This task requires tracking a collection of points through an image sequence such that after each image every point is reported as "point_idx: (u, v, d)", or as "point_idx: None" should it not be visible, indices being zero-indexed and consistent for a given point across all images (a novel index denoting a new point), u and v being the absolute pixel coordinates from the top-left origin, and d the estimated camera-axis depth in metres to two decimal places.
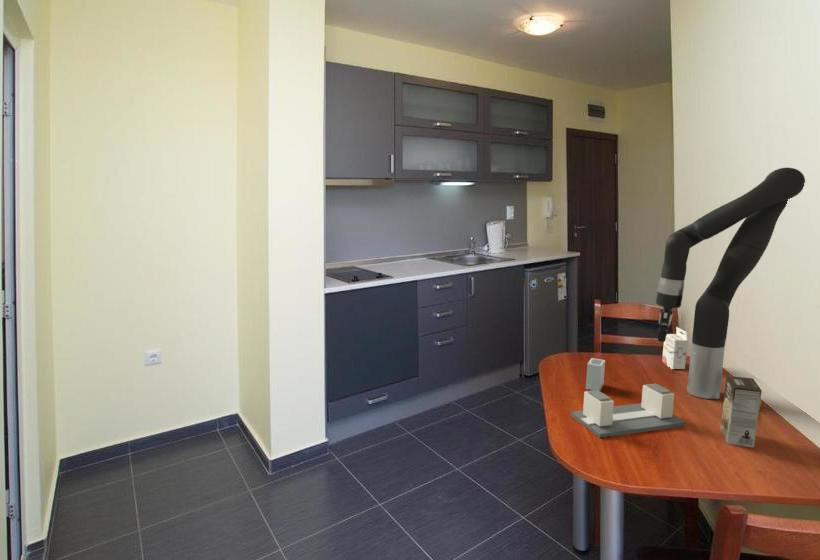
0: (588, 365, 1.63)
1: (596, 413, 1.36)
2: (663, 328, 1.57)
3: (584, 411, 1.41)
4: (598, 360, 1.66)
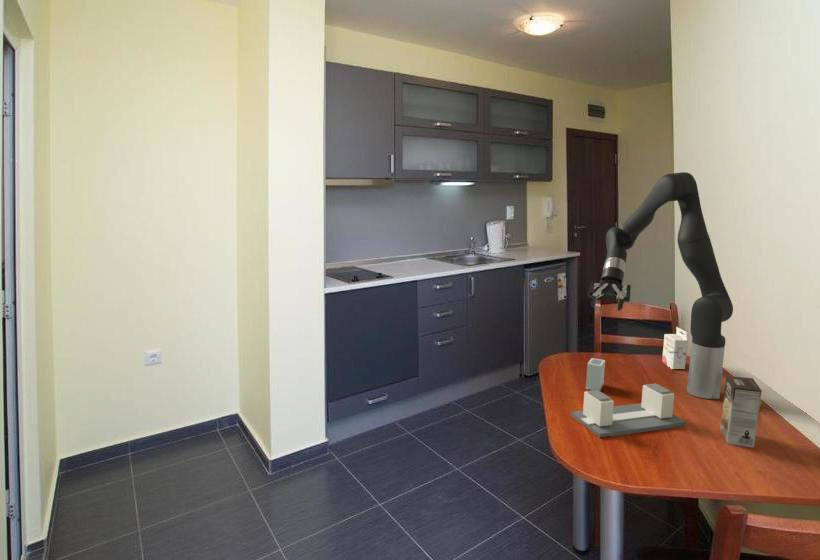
0: (588, 365, 1.63)
1: (596, 413, 1.36)
2: None
3: (584, 411, 1.41)
4: (598, 360, 1.66)
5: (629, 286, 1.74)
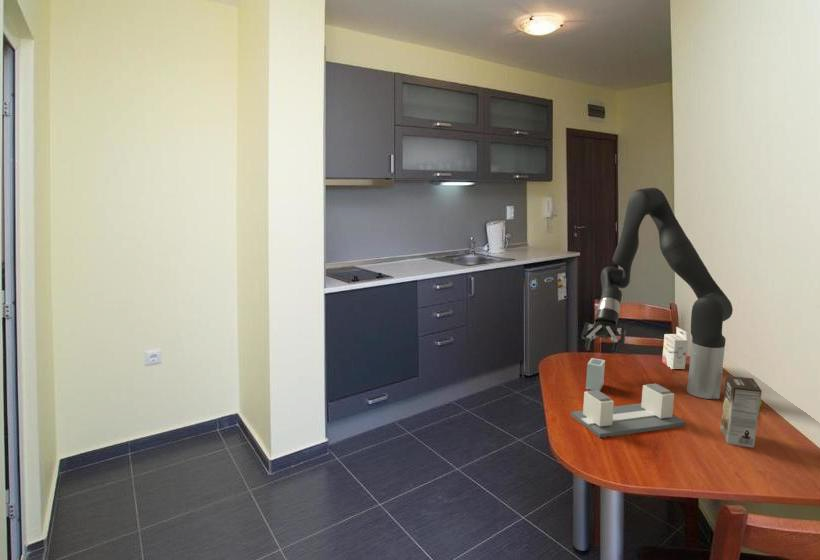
0: (588, 365, 1.63)
1: (596, 413, 1.36)
2: None
3: (584, 411, 1.41)
4: (598, 360, 1.66)
5: (623, 328, 1.71)
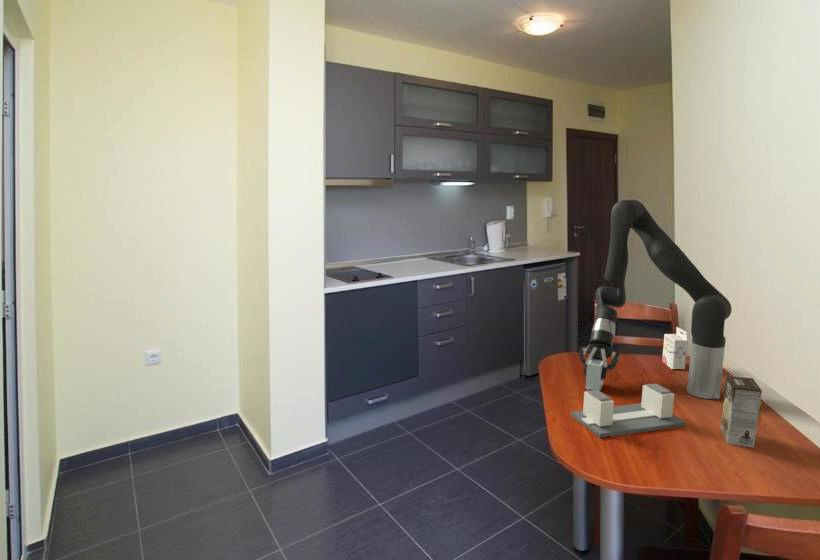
0: (588, 365, 1.63)
1: (596, 413, 1.36)
2: None
3: (584, 411, 1.41)
4: (597, 360, 1.66)
5: (618, 354, 1.65)
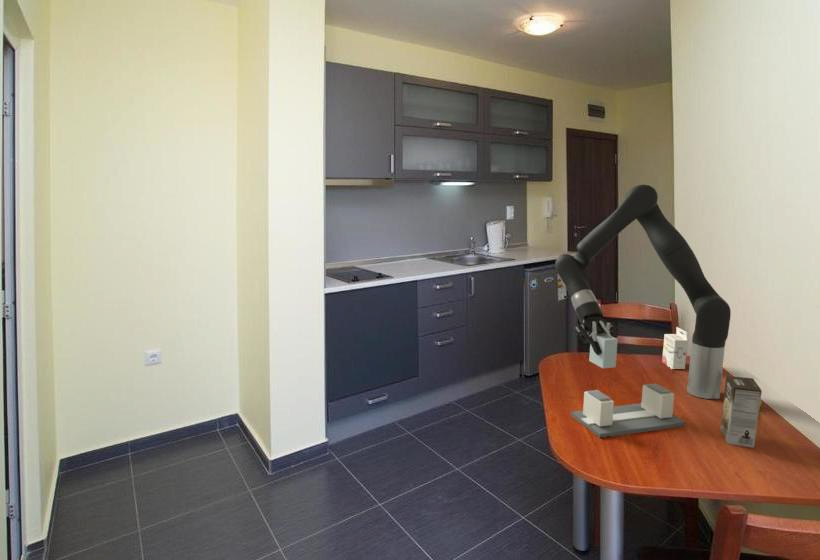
0: (605, 341, 1.46)
1: (596, 413, 1.36)
2: (586, 340, 1.50)
3: (584, 411, 1.41)
4: (601, 334, 1.52)
5: (614, 323, 1.55)
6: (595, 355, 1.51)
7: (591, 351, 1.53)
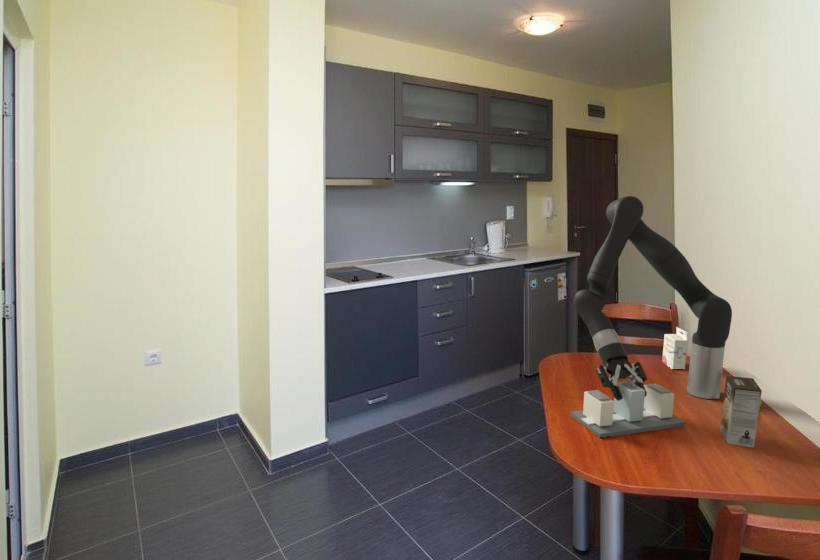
0: (632, 393, 1.36)
1: (596, 413, 1.36)
2: (604, 383, 1.40)
3: (584, 411, 1.41)
4: (626, 384, 1.41)
5: (639, 364, 1.44)
6: (621, 407, 1.40)
7: (615, 401, 1.42)
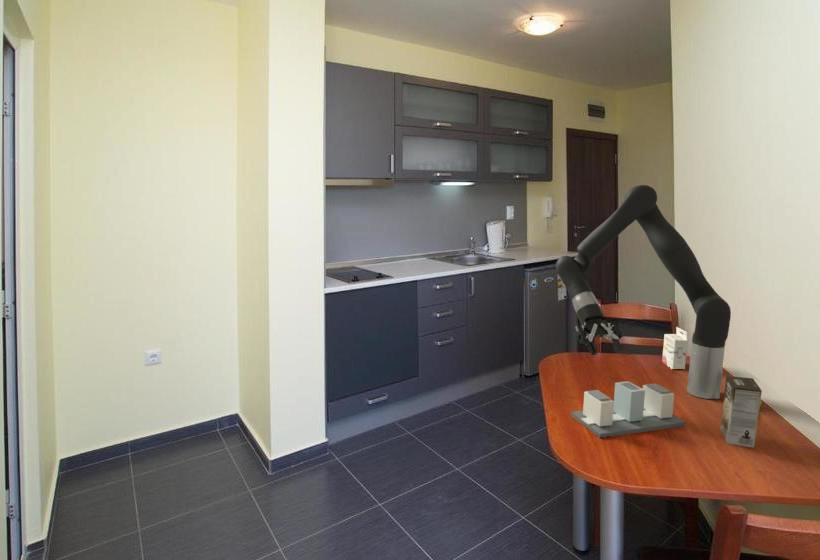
0: (632, 393, 1.36)
1: (596, 413, 1.36)
2: (581, 340, 1.50)
3: (584, 411, 1.41)
4: (626, 384, 1.41)
5: (614, 323, 1.55)
6: (621, 407, 1.40)
7: (615, 401, 1.42)
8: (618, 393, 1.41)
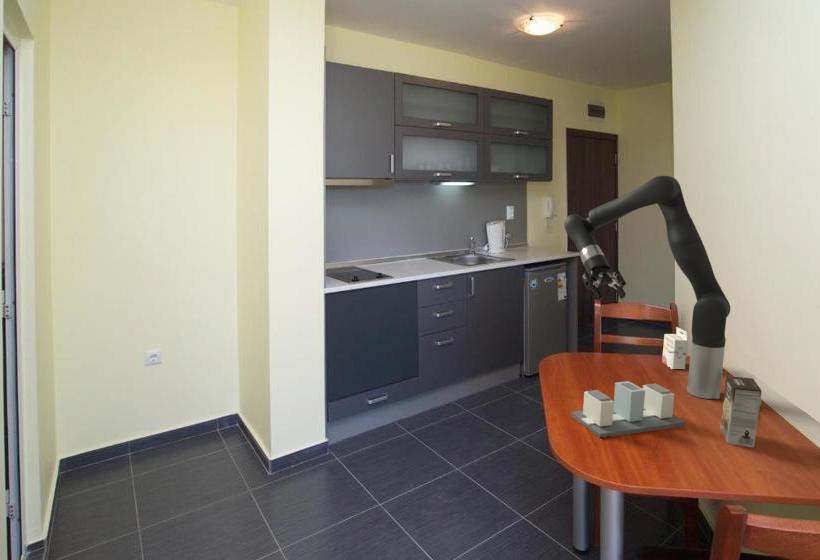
0: (632, 393, 1.36)
1: (596, 413, 1.36)
2: (588, 286, 1.65)
3: (584, 411, 1.41)
4: (626, 384, 1.41)
5: (618, 272, 1.70)
6: (621, 407, 1.40)
7: (615, 401, 1.42)
8: (618, 393, 1.41)
